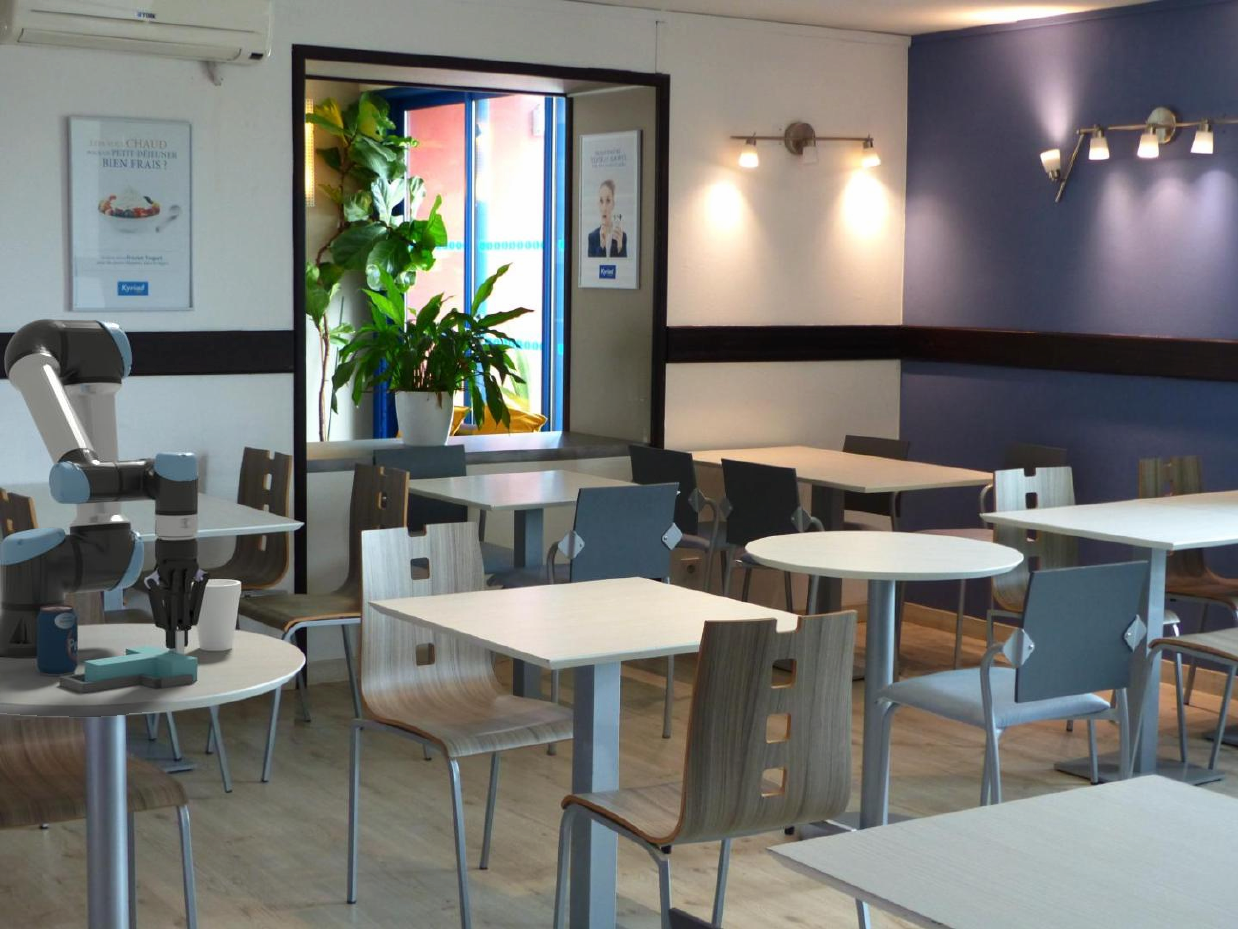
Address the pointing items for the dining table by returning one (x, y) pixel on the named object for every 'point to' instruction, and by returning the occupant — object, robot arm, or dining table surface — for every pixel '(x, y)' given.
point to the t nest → (121, 682)
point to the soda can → (57, 640)
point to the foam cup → (218, 614)
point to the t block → (142, 664)
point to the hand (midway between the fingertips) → (176, 665)
